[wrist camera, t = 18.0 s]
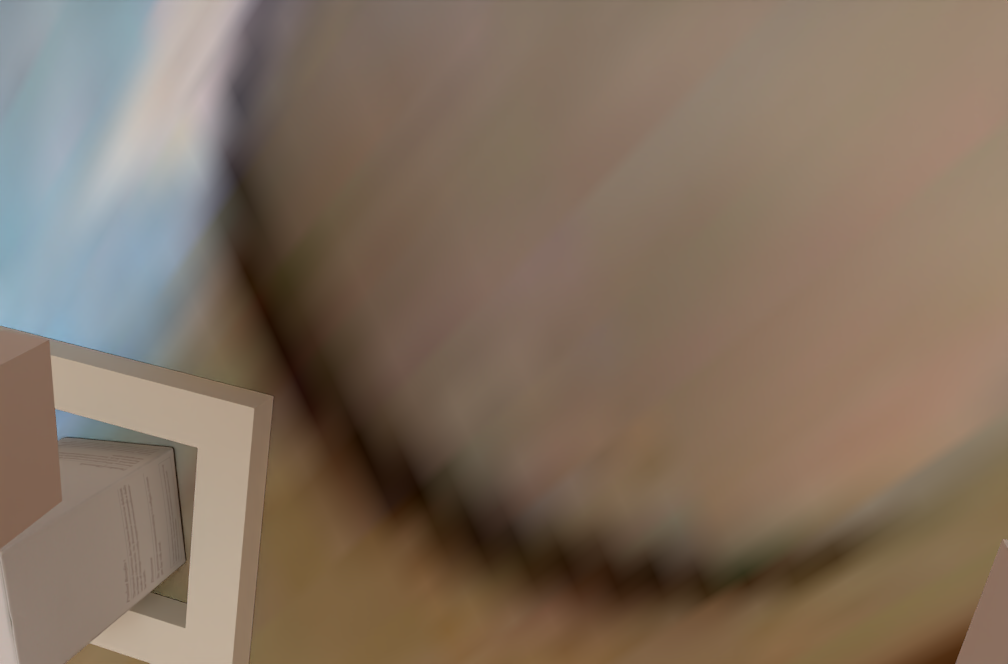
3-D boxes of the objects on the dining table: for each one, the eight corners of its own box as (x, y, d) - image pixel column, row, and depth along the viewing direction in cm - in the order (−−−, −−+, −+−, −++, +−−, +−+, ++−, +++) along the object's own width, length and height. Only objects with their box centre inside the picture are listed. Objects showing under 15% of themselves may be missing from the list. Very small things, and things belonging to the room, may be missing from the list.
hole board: (0, 325, 51) (-29, 334, 49) (273, 396, 48) (254, 408, 46) (-1, 587, 56) (-27, 604, 54) (248, 668, 52) (229, 689, 51)
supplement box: (63, 433, 52) (-140, 531, 40) (177, 445, 50) (0, 552, 38) (78, 551, 54) (-112, 679, 42) (189, 566, 52) (23, 705, 40)
